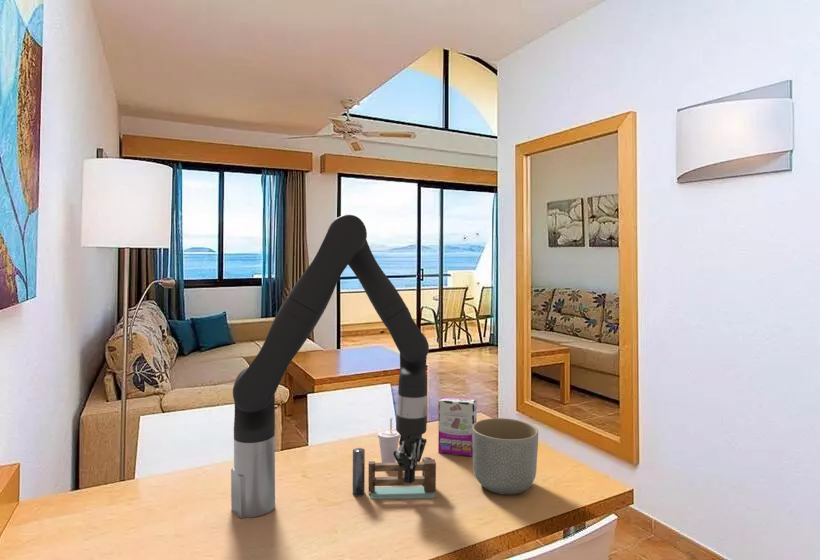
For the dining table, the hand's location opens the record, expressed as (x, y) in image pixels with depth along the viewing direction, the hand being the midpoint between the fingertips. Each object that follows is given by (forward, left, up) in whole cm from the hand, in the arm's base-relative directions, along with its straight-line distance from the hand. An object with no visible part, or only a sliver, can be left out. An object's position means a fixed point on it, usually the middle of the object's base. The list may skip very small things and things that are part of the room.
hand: (409, 481), depth 124 cm
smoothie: (+7, +18, -4) cm, 20 cm away
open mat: (0, +3, -4) cm, 5 cm away
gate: (0, +4, -3) cm, 5 cm away
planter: (+24, -10, -4) cm, 26 cm away
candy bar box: (+30, +14, -4) cm, 33 cm away
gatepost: (-9, +10, -4) cm, 14 cm away
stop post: (+8, +3, -4) cm, 9 cm away
